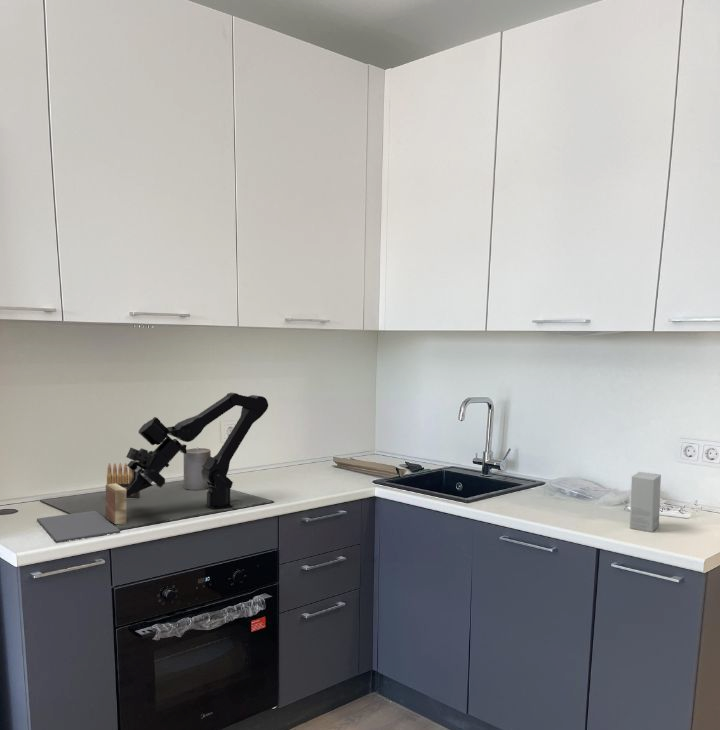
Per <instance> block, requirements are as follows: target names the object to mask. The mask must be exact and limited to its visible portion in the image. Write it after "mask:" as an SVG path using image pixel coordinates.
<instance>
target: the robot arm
mask: <svg viewBox="0 0 720 730" xmlns="http://www.w3.org/2000/svg"><path fill="white" fill-rule="evenodd" d="M267 399H268V398H266V397H264V396H261V395H256V394H251V395H248V396H247V395H242V394H239V393H236V392H229V393H226V395H225V396H223V397H222V398H221V399H218V401H216V402H215V403H213V404H212V405H210V406H209V407H207V408H205V409H204V410H203V411H201V412H200V413H198V414H196V415H194V416H191V417H188V418H186V419H183V420H181V421H179V422H177V423H176V424H175V425H173V426H167V427H166V426H165V425H164V424H163V423H162V422H161V420H160V419H159V418H158V417H156V416H154V417H152V419H150V420H148V421H147V422H146V423H144V424H142V426H141V427H140V428H139V429H138V434H139V435H140V436H141V437H142V438H143V439H144V440H145V441H147V443H149V444H150V445H151V446H154V445H156V446H157V447H156V448H155V449H154V450H150V451H148V450H147V449H145V448H140V449H139V450H138V449H135V448H133V447H130V448H129V450H128V452H127V454H126V456H125V458H127V459H129V460H130V462H128V463H127V468H128V469H129V468H130V469H131V470H132V479H131V481H130V483H129V485H128V487H127V489H126V497H128V496H130V495H132V494H134V493H136V492H139V491H140V492H141V491H143V490H145V489H147V488H150V487H153V484H152V483H154V484H156V486H157V487H158V488H160V489H161V488H162V487H163V486H164V485H165V484H166V478H165V477H164V476H162V474H161V472H162V471H163V470H164V469H165V468H168V467H169V466H170V464H169V463H170V462H171V461H172V460H173V459H174V458H175V456H176V455H177V454H178V453H179V452H180V453H181V454H183V455H184V454H186V453H187V444H184V443H183V444H182V443H181V442H185V443H189V442H192V441H193V440H195V439H196V438H197V437H198V436H199V435H200V434H201V433H202V432H203V430H204V429H205V428H206V427H207V426H208V425H209V424H211V423H212V422H214V421H215V420H217V419H218V418H219V417H221V416H222V415H224V414H225V413H227V412H228V411H230V410H231V409H233V408H234V407H235V406H237V407H242V408H241V412H240V417H239V418H238V420H237V422H236V423H235V424H234V427H233V429H232V430H231V431H230V433H229V435H228V436H227V438H226V440H225V442H224V443H223V444H222V446H221V448H220V450H219V451H218V452H217V454H215V456H213V457H212V456H211V457H210V456H209V457H208V458H207V460H206V463H205V464H204V465H203V466H202V467H203V469H202V472H201V473H202V477H203V479H204V480H206V481H207V484H208V485H209V486H211V487H208V489H207V492H206V503H205V505H206V506H207V507H209V508H211V509H213V510H217V509H224V508H229V507H230V508H231V507H233V504H232V503H231V489H232V488H233V487H232V486H233V483H234V482H233V480H231V479H230V478H229V477H228V476H227V475H228V473H229V469H230V464H231V460H232V458H233V456H234V455H235V454H236V452H237V450H238V448H239V447H240V446H241V444H242V442H243V440H244V439H245V438H246V435H247V434H248V432H249V430H250V429H251V427H252V426H253V425H254V423H255V422H257V420H259V419H260V418H262V417H263V415H264V414H265V413H266V411H267V410H268V409H269V402H268V400H267ZM170 436H171V437H173V438H171V437H170ZM179 440H180V441H181V442H180V441H179Z"/></svg>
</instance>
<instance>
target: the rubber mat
mask: <svg viewBox="0 0 720 730" xmlns="http://www.w3.org/2000/svg"><path fill="white" fill-rule="evenodd" d="M36 521H37V522H38V524H40V526H41V527H42V528H43V529H44V531H46V533H47V534H48V535H49V536H50V537H51V539H52V540H53V541H54V542H55V543H56V544H57V543H64V541H66V542H70V541H69V540H72V541H76V540H75V539H79V540H83V539H82V538H85V539H88V538H89V539H90V537H91V538H97V537H102V536H101V535H103V536H107V534H110V535H113V534H112V533H116V534H120V533H121V529H119V528H118V527H117V526H115V525H114V524H113V523H111V522H110V521H109V520H108V519H106V517H105V516H102V515H101V514H100V513H98V512H97V511H96V510H90V511H83V512H75V513H67V514H62V515H61V514H60V515H54V516H46V517H45V516H44V517H39V518H36ZM119 532H120V533H119ZM96 536H97V537H96Z"/></svg>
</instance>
